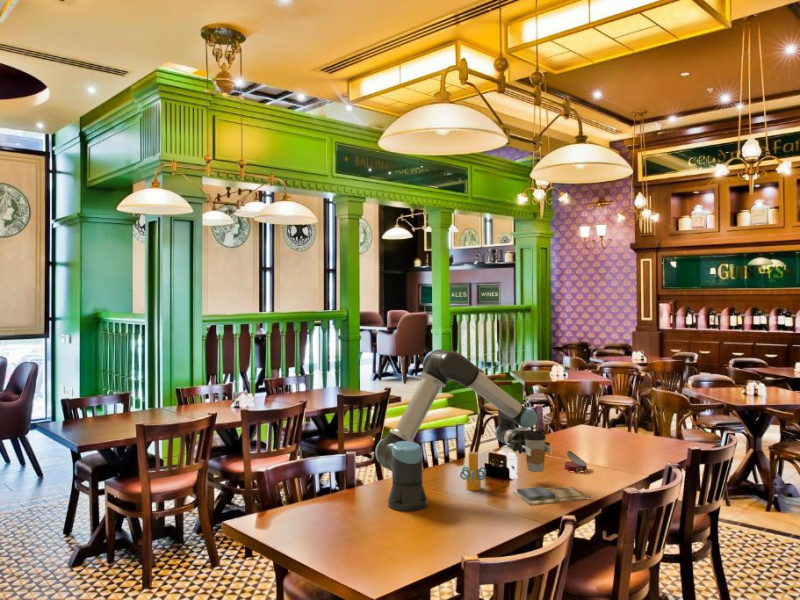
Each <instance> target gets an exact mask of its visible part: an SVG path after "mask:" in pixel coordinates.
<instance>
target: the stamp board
mask: <svg viewBox="0 0 800 600" xmlns="http://www.w3.org/2000/svg"><path fill="white" fill-rule="evenodd" d="M511 493H512V494H513V495H514V496H515V497H518V498H519V499H520V500H522V502H524V503H526V504H528V505H529V506H533V505H543V504H544V505H545V504H555V503H554V502H556V503H563V502H562V501H567V502H571V501H570V500H577V499H587V498H590V499H591V496H588V495H587V494H585V493H583V492H582V491H579V490H577V489H576V488H575V487H572V486H570V485H568V486H557V487H543V486H538V487H525V488H524V487H522V488H517V489H516V490H512V492H511ZM577 501H578V500H577Z"/></svg>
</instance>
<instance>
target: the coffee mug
mask: <svg viewBox="0 0 800 600" xmlns="http://www.w3.org/2000/svg"><path fill="white" fill-rule="evenodd" d="M515 430H518V431H520V432H522V433H524V434H526V432H527V431H532V428H531V427H515Z"/></svg>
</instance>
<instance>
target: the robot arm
mask: <svg viewBox="0 0 800 600" xmlns="http://www.w3.org/2000/svg"><path fill="white" fill-rule="evenodd" d="M422 366H423V368H422V371H421V373H420V374H421V380H420V382H419V384H418V386H417V387H416V390H415V392H414V394H413V395H412V397H411V399H410V400H409V403H408V404H407V406H406V407H405V410H404V411H403V414H402V415H401V417H400V420H398V423H397V424H396V427H395V428H394V429H391V430H390V431H388V434H387V435H386V437H384V438H382V439H380V440H379V442H378V443H377V444H376V447H375V451H374V455H375V458H376V460H377V462H378V463H379V464H380V465H381V467H382V468H385V469H387V470H388V471H391V472H392V473H391V474H392V479H391V480H392V485H391V490H390V492H389V495H388V499H387V502H388V503H387V505H388V507H389V508H390V509H392V510H395V511H403V512H407V511H408V512H412V511H419V510H422V509H425V508H427V507H428V498H427V494H426V491H425V489H424V485H423V457H424V455H423V449H422V446H421V445H420V444H419V443H417V442H415V441H414V439H415V437H416V435H417V433H418V431H419V429H420V427H421V425H422V423H423V422H424V420H425V418H426V416H427V414H428V412H429V411H430V408H431V407H432V405H433V403H434V402H435V400H436V398H437V396H438V394H439V392H440V391H441V389H442V388H446V386H447V385H448V383H449V381H452V382H455V383H458V384H460V385H461V386H462V387H464V388H469V389H471V390H472V391H473V392H474V393H476V394H478V395H479V396H480V397H482V398H483V399H484V400H486V401H487V402H488V403H489V404H491V405H492V406H493V407H495V408H496V409H497V420H498V421H497V423H498V425H497V427H496V428H495V430H494V435H495V438H496V439H497V440H498V441H499V442H500V443H502V444H505V445H506V446H507V448H510V449H511V450H512V451H513V452H515V453H517V452H518V454H520V455H521V454H522V453H523V454H524V455H526V454H527V455H529V456H531V449H530V448H528V447H526V444H525V434H524V433H522V432H520V431H518V430H515V428H516V425H517V426H520V427H522V428H533V427H534V426H535V425H536V424H537V422H538V415H537V413H536V411H535V410H533V409H531V408H528V407H525V406H524V405H523V404H522V403H521V402H519V401H518V400H517V399H515V397H513V396H511V395H510V394H509V393H507V392H506V391H505V390H503V389H502V388H501V387H500V386H498V385H497V384H496V383H495V382H493V381H492V380H491V379H489V378H488V377H486V376H485V375H484V374H483V373H482V372H481V371H480V368H479V367H478V366H476V365H475V364H474V363H473V362H472V361H470V360H469V359H468V358H467V357H465V356H464V355H462V354H461V353H459V352H457V351H452V350H451V351H450V350H444V349H434V350H431V351H429V352H428V353H426V355H425V356H424V358H423V361H422ZM545 453H547V454H549V455H552V454H553V447H552V446H550V442H548V441H545Z"/></svg>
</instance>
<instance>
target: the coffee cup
mask: <svg viewBox="0 0 800 600" xmlns="http://www.w3.org/2000/svg"><path fill="white" fill-rule="evenodd" d="M545 442H546V435H545V432H544V431H541V430H531V431H527V432H526V434H525V444H526V447H528V448H530V449H531V456H529V455H527V454H525V455H526V456H525V457H526V458H525V459H526V465H527V470H528V471H529V472H531V473H542V472H543V471H544V470H545V458H546V456H545V455H546V452H545Z"/></svg>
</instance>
